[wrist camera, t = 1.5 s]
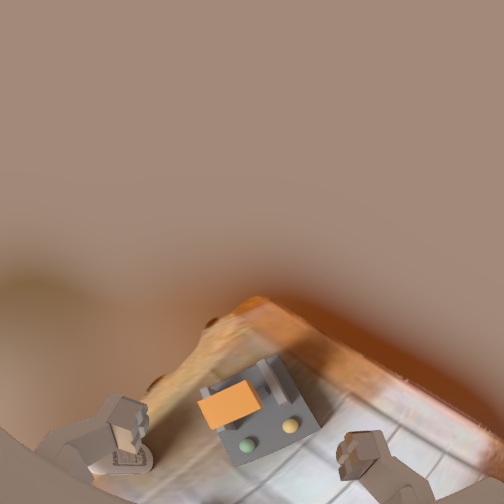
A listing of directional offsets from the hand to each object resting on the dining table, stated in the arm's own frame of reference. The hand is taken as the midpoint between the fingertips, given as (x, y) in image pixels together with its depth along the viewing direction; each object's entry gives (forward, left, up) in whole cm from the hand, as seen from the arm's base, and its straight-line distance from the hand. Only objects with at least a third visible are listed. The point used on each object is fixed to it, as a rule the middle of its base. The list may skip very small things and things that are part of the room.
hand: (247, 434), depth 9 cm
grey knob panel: (+8, 0, -34) cm, 35 cm away
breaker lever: (+10, -1, -29) cm, 31 cm away
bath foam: (+24, +21, -35) cm, 47 cm away
